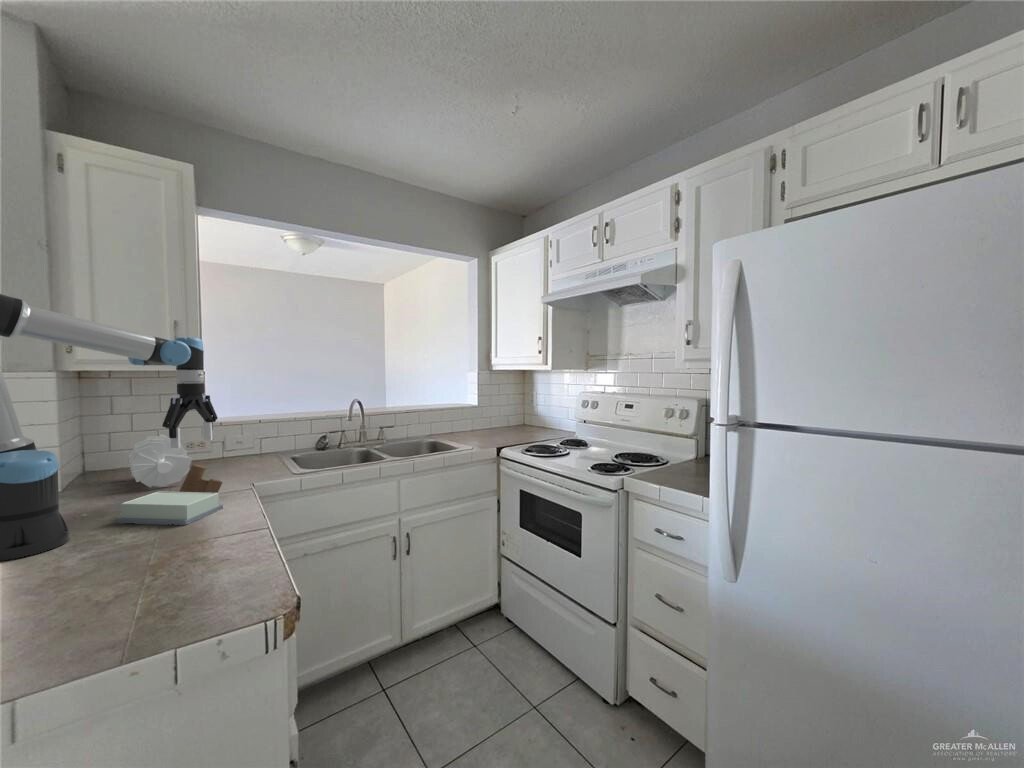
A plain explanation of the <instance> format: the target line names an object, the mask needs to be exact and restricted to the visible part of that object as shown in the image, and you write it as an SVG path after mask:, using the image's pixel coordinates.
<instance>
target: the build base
mask: <svg viewBox="0 0 1024 768" xmlns="http://www.w3.org/2000/svg"><path fill="white" fill-rule="evenodd" d="M222 508H223V509H224V504H220V493H219V492H218V493H200V492H179V491H156V492H153V493H150V494H146V495H144V496H140V497H137V498H133V499H132V500H128V501H124V502H121V504H120V517H118V518H115V524H124V523H135V524H134V525H165V526H166V525H167V526H169V525H170V526H172V525H171V524H174V525H173V526H187V525H186V524H188V525H190V524H192V523H194V522H196V521H195V520H197V521H198V519H199V520H201V519H203V518H205V517H207V515H208V516H209V514H210V515H212V514H214V513H217V512H218V510H219V511H220V509H221V510H223V509H222ZM216 511H217V512H216ZM211 513H212V514H211ZM202 517H203V518H202ZM200 518H201V519H200ZM193 521H194V522H193ZM191 522H192V523H191ZM189 523H190V524H189ZM168 524H169V525H168ZM178 524H179V525H178Z"/></svg>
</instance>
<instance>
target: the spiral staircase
mask: <svg viewBox="0 0 1024 768" xmlns="http://www.w3.org/2000/svg"><path fill="white" fill-rule="evenodd" d="M133 446H134V448H133V449H132V451H130V453H129V454H128V455H127V457H128V460H127V462H129V469H130V470H129V472H131V477H134V479H135V482H136V483H138V482H140V483H142V484H144V485H145V486H146V487H148V488H149V489H151V488H152V487H161V488H164V487H165V488H168V486H169V485H172V484H175V483H176V484H177V483H179V482H181V481H182V478H184V477H185V476H187V474H188V472H189V470H190V468H191V467H190V466H191V464H192V461H193V457H190V456H187V455H188V451H187V450H186V449H185V447H184V446H183V444H182V442H181V441H180V448H171V441H170V438H169V436H167V435H164V434H163V433H161V434H160V435H159V436H156V435H155V436H146V438H145V439H144V440H142V441H140V442H137V443H135V444H133Z"/></svg>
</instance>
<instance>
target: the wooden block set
mask: <svg viewBox="0 0 1024 768" xmlns="http://www.w3.org/2000/svg"><path fill="white" fill-rule="evenodd" d="M190 466H191V467H189V469H190V470H189V472H188V473H187V474H186V477H185V478H184V481H183V482H182V485H181V486H180V489H179V490H178V492H200V493H219V491H220V490H221V487H222V484H223V481H221V480H220V479H215V478H210V479H205V478H202V477H203V476H204V474H205V472H206V470H207V467H206V466H203V465H200V464H199V465H198V464H192V465H190Z"/></svg>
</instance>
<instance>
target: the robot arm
mask: <svg viewBox="0 0 1024 768" xmlns="http://www.w3.org/2000/svg"><path fill="white" fill-rule="evenodd" d="M16 336H21V337H26V338H32V339H35V340H41V341H47V342H49V343H50V342H51V343H55V344H62V345H65V346H66V345H67V346H72V347H76V348H81V349H87V350H92V351H97V352H101V353H106V354H112V355H117V356H122V357H125V358H127V359H128V361H129V363H130V364H131V365H133V366H142V367H143V366H171V367H175V371H176V373H175V374H176V382H178V383H177V384H176V394H177V395H179V397H171V398H170V404H169V407H168V410H167V412H166V415H165V418H164V420H163V422H162V424H161V425H162V427H163V428H165V429H168V437H169V438H170V441H171V448H180V442H181V428H180V427H179V425H180V424H181V422H182V421H183V419H184V417H185V416H186V414H187V413H188V412H190V411H192V410H196V411H197V413H198V414H199V415H200V416H201V418H202V419H203V420H204V422H203V423H202V424H203V425H202V430H203V431H202V432H203V441H213V429H214V423H215V422H216V421H217V420H218V418H219V417H218V415H217V413H216V410H215V409H214V406H213V404H212V401H211V395H209V394H208V395H207V394H206V395H205V393H206V391H205V383H204V381H205V371H204V369H205V367H204V366H205V365H204V363H205V362H204V361H205V360H204V358H205V357H204V356H205V355H204V352H205V350H204V342H203V340H202V339H201V338H198V337H184V336H183V337H182V336H181V337H180V336H179V337H176V338H175V339H171V340H170V339H166V338H161V337H156V336H153V335H149V334H145V333H143V332H142V333H141V332H137V331H134V330H129V329H125V328H121V327H117V326H113V325H109V324H106V323H105V324H104V323H101V322H96V321H93V320H89V319H84V318H80V317H76V316H71V315H69V314H68V315H67V314H63V313H60V312H57V311H56V312H55V311H51V310H48V309H44V308H39V307H37V306H36V307H35V306H31V305H29V304H28V303H27V301H25V300H24V299H20V298H17V297H12V296H10V295H6V294H2V293H0V341H1V340H2V339H1V337H5V338H13V337H16ZM59 467H60V466H59V462H58V456H57V455H56V453H53V452H52V451H49V450H38V449H37V447H36V444H35V441H34V440H33V439H32V438H29V437H26V436H24V435H23V431H22V429H21V425H20V423H19V420H18V416H17V414H16V411H15V408H14V404H13V401H12V399H11V394H10V393H9V389H8V386H7V383H6V380H5V377H4V374H3V370H2V368H1V366H0V562H2V561H9V559H10V560H15V558H16V559H20V557H21V558H25V557H24V556H26V557H29V556H28V555H30V556H34V555H38V554H41V553H44V551H45V552H47V550H48V551H50V549H51V550H54V549H56V548H58V546H59V547H61V546H63V545H65V544H67V543H68V542H69V541H70V540H69V539H71V537H70V536H71V535H70V534H71V533H70V529H69V527H68V526H67V523H66V522H65V520H64V518H63V516H62V514H61V512H60V503H59V501H60V500H59V499H60V498H59ZM62 544H63V545H62ZM60 545H61V546H60ZM55 547H56V548H55ZM53 548H54V549H53ZM40 552H41V553H40ZM37 553H38V554H37ZM33 554H34V555H33Z"/></svg>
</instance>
